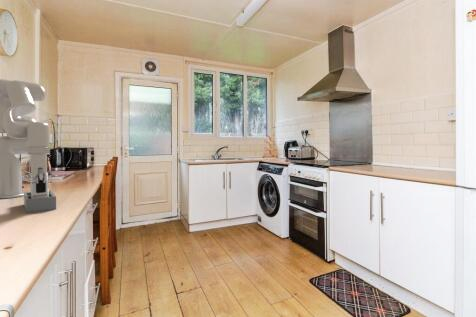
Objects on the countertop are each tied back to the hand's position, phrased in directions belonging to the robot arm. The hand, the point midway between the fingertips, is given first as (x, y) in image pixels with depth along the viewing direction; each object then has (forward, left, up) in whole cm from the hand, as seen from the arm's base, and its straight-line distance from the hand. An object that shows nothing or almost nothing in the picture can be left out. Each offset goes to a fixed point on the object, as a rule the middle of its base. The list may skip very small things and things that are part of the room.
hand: (40, 190), depth 108 cm
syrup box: (0, 0, -7) cm, 7 cm away
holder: (-3, +3, -8) cm, 9 cm away
